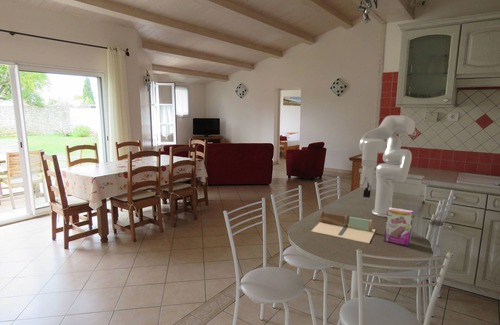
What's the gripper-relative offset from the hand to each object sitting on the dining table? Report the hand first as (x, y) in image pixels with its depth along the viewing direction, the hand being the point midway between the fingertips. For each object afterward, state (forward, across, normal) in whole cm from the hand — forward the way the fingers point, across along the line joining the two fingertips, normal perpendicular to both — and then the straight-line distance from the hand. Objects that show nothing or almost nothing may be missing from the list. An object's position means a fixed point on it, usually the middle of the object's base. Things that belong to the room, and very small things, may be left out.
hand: (366, 196), depth 166 cm
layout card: (+17, +12, -8) cm, 23 cm away
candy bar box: (+17, +13, +18) cm, 28 cm away
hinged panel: (+16, +6, -1) cm, 17 cm away
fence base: (+17, +6, -15) cm, 24 cm away
